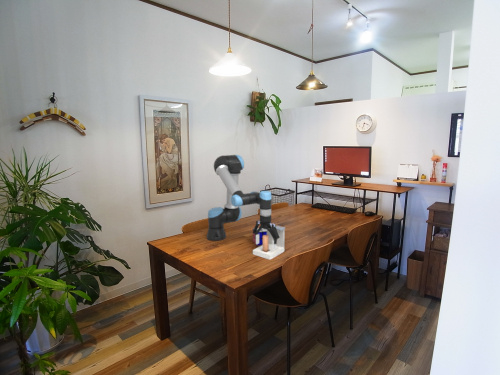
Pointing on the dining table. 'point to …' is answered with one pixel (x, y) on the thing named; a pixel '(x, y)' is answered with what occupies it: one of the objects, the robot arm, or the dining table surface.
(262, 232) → the puzzle cube
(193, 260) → the dining table surface
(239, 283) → the dining table surface
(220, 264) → the dining table surface
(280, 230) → the socket board
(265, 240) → the peg
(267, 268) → the dining table surface
